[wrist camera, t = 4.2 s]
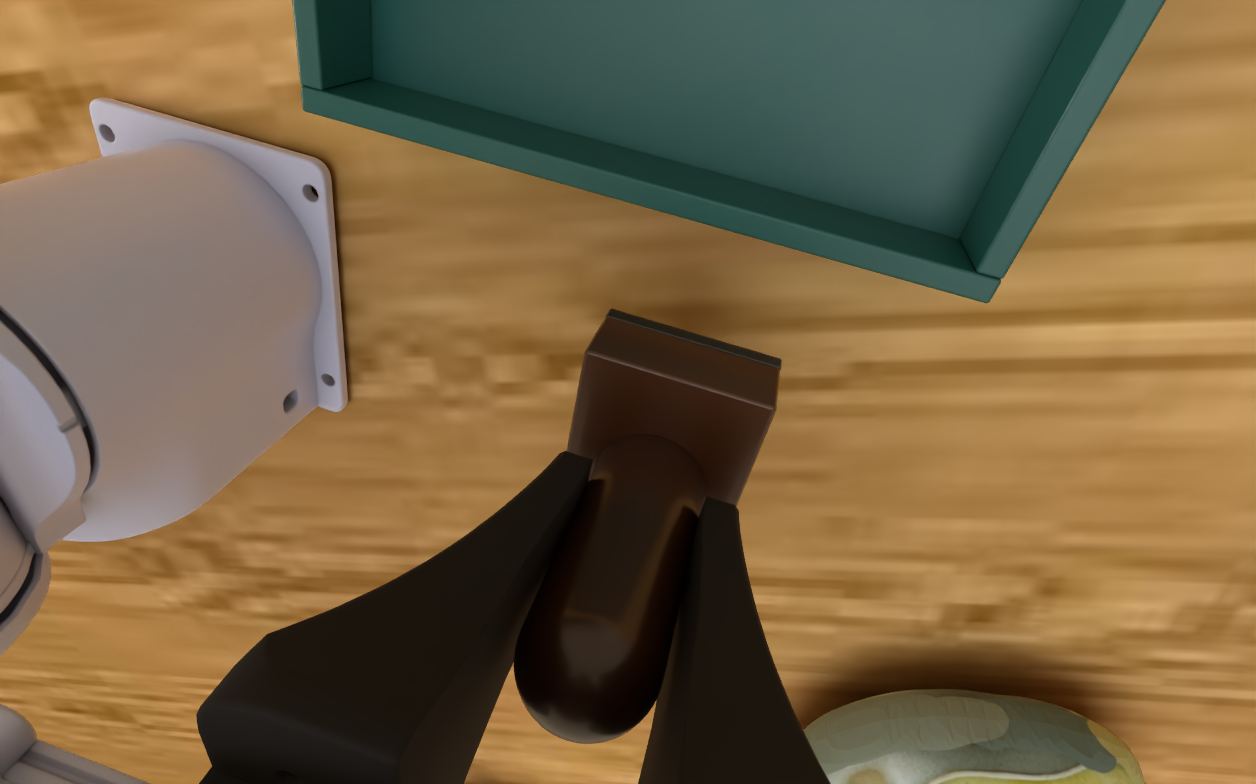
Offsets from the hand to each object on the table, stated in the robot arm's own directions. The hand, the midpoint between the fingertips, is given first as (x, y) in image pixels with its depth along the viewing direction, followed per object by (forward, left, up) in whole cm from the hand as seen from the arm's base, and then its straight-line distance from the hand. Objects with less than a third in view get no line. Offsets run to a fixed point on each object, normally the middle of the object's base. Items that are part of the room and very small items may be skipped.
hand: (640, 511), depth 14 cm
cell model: (-15, -14, -8) cm, 22 cm away
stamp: (0, 0, -3) cm, 3 cm away
